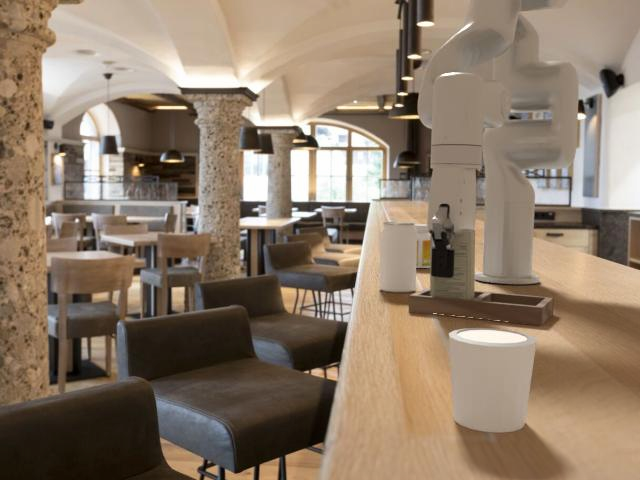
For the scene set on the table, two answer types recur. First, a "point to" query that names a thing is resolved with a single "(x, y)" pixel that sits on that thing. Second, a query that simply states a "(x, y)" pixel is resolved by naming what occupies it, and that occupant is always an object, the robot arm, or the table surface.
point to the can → (398, 257)
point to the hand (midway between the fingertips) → (452, 273)
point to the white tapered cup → (491, 378)
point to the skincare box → (457, 270)
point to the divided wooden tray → (486, 306)
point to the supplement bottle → (422, 246)
